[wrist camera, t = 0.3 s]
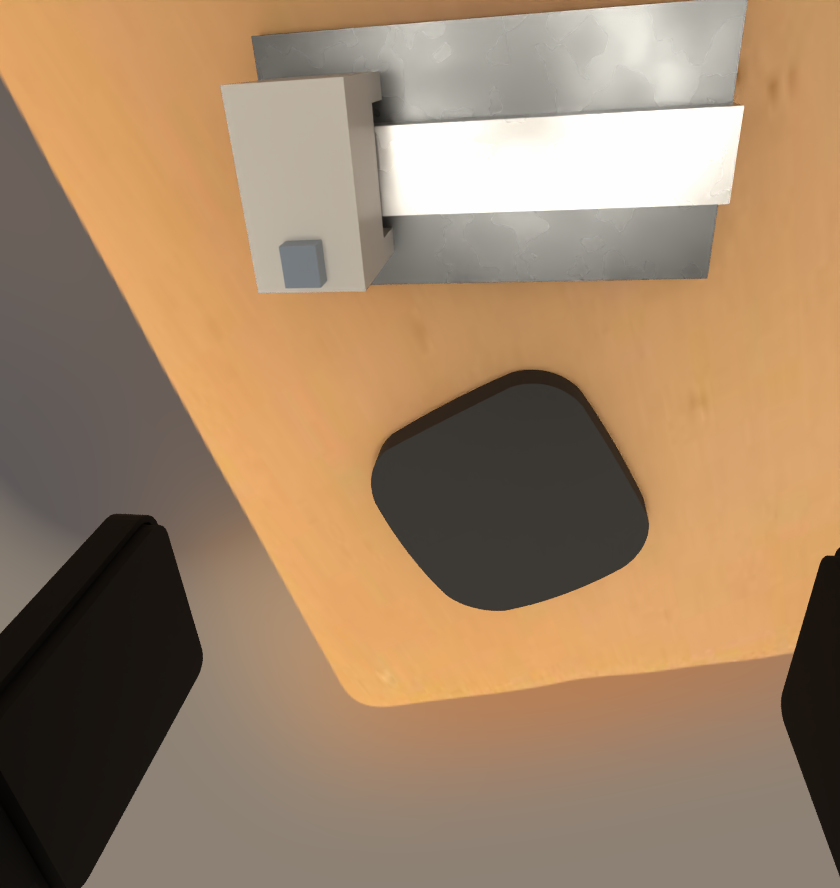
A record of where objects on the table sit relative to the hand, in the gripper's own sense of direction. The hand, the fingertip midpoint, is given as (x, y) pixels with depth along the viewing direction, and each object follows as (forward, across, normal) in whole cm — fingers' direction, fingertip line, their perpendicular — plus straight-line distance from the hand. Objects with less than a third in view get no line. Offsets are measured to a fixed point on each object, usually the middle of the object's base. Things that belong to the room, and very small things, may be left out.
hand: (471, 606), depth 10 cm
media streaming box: (+30, 0, +18) cm, 35 cm away
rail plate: (+29, +2, -2) cm, 30 cm away
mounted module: (+28, +9, -2) cm, 30 cm away
